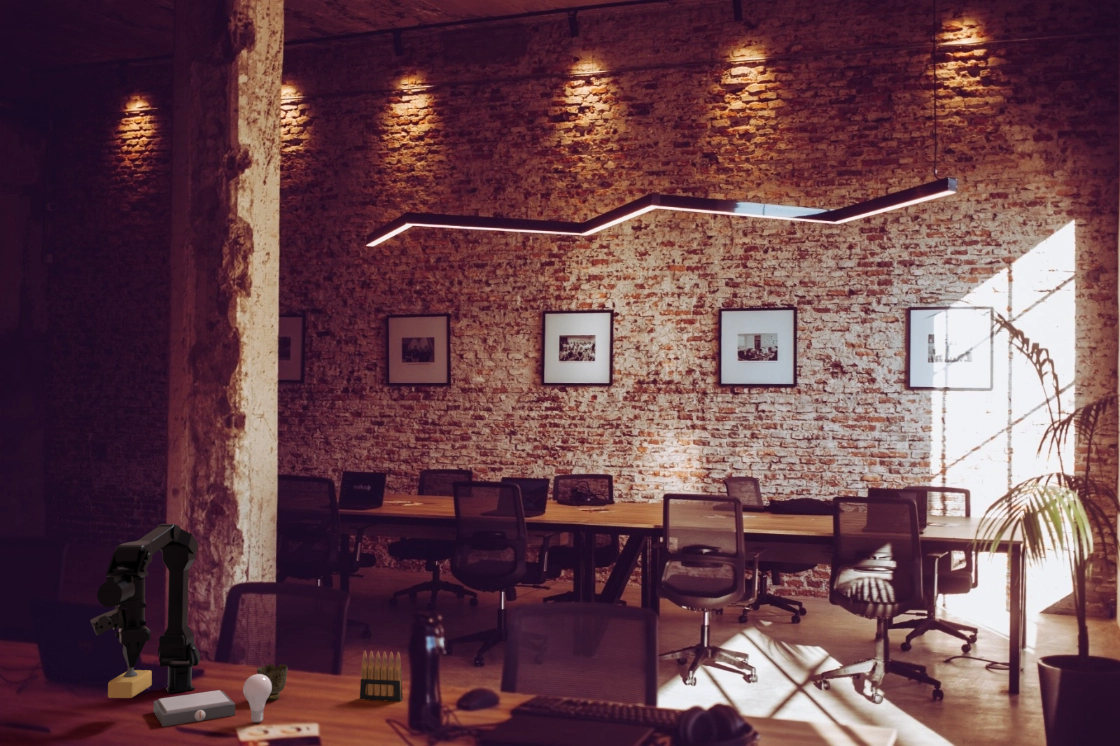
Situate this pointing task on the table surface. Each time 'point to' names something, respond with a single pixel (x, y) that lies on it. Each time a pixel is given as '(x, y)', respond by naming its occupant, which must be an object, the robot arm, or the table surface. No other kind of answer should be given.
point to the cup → (275, 678)
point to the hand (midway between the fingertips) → (130, 665)
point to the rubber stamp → (129, 682)
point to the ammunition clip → (381, 678)
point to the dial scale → (193, 708)
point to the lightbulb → (257, 695)
